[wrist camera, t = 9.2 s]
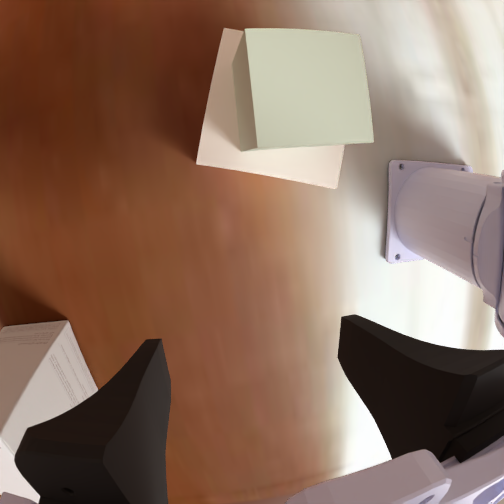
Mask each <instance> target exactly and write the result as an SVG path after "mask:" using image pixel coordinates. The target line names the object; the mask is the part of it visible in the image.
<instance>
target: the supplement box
mask: <svg viewBox="0 0 504 504" xmlns="http://www.w3.org/2000/svg"><path fill="white" fill-rule="evenodd" d="M97 391H98V389H97V387H96V385H95V383H94V380H93V378H92V376H91V374H90V372H89V369H88V367H87V365H86V363H85V360H84V358H83V356H82V353H81V351H80V349H79V346H78V344H77V341H76V339H75V336H74V334H73V331H72V329H71V326H70V323H69V321H68V320H64V321H54V322H44V323H34V324H24V325H13V326H5V327H3V328H2V329H1V331H0V495H2V492H7V493H11V494H14V495H17V496H21V497H24V498H27V499H30V500H32V501H34V502H36V503H37V504H38V503H39V499H40V495H39V494H38V493H37V492H36V491H35V490H34V489H33V488H32V486H31V485H30V484H29V483H28V482H27V481H26V480H25V478H24V477H23V476H22V475H21V473H20V472H19V470H18V469H17V467H16V465H15V462H14V457H15V454H16V451H17V449H18V447H19V445H20V442H21V440H22V438H23V436H24V433H25V431H26V429H27V428H28V427H31V426H34V425H37V424H39V423H42V422H45V421H47V420H50V419H52V418H54V417H56V416H59V415H61V414H63V413H65V412H66V411H68V410H70V409H72V408H74V407H75V406H77V405H78V404H80V403H81V402H83V401H84V400H86V399H87V398H89V397H90V396H92V395H93V394H94V393H96V392H97Z"/></svg>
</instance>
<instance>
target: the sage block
mask: <svg viewBox="0 0 504 504" xmlns="http://www.w3.org/2000/svg"><path fill="white" fill-rule="evenodd" d="M232 70H233V80H234V90H235V99H236V109H237V119H238V129H239V139H240V148H241V152H245V151H255V150H267V149H280V148H295V147H313V146H333V145H346V144H361V143H374V136H373V125H372V115H371V106H370V97H369V89H368V82H367V75H366V68H365V62H364V56H363V50H362V44H361V39H360V35H358V34H351V33H342V32H333V31H322V30H308V29H285V28H248V29H245V30H244V32H243V35H242V37H241V40H240V43H239V45H238V48H237V51H236V54H235V56H234V59H233V62H232Z"/></svg>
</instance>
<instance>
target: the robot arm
mask: <svg viewBox="0 0 504 504" xmlns="http://www.w3.org/2000/svg"><path fill="white" fill-rule="evenodd" d="M400 164H401V166H402V168H401V169H399V165H400ZM461 169H462V171H461ZM397 254H398V256H397V258H395V256H396V255H397ZM385 259H386V261H387V262H389V263H400V262H407V261H414V260H421V259H426V260H428V261H430V262H432V263H434V264H436V265H438V266H440V267H442V268H444V269H446V270H447V271H449V272H451V273H453V274H455V275H457V276H459V277H460V278H462V279H464V280H466V281H468V282H470V283H471V284H473V285H475V286H477V287H479V288H480V289H482V290H483V295H484V299H483V301H484V302H485V303H486V304H488V305H490V306H491V307H493V308H495V309H496V310H495V324H496V327H497V329H498V331H499V332H500V334H501V335H502V336H503V337H504V170H503V171H502V173H501V177H496V176H490V175H484V174H478V173H473V169H472V167H471V166H467V165H458V164H447V163H436V162H423V161H408V160H392V161H390V163H389V194H388V223H387V240H386V254H385ZM338 359H339V362H340V364H341V366H342V369H343V371H344V373H345V375H346V377H347V378H348V380H349V381H350V383H351V384H352V386H353V387H354V389H355V390H356V392H357V393H358V395H359V396H360V398H361V399H362V401H363V402H364V404H365V405H366V407H367V408H368V410H369V411H370V413H371V415H372V416H373V418H374V420H375V422H376V424H377V426H378V428H379V430H380V432H381V434H382V436H383V439H384V441H385V443H386V445H387V448H388V450H389V452H390V455H391V458H392V460H389V461H387V462H384V463H381V464H379V465H376V466H373V467H370V468H367V469H364V470H361V471H358V472H355V473H352V474H348V475H345V476H342V477H338V478H335V479H331V480H328V481H324V482H321V483H319V484H316V485H313V486H310V487H308V488H305V489H303V490H301V491H300V492H298V493H297V494H295V495H293V496H292V497H290V498H289V499H288V500H287V501H286V503H285V504H497V503H498V502H499V501H500V500H502V499H503V498H504V350H466V349H457V348H451V347H445V346H440V345H435V344H431V343H428V342H424V341H421V340H417V339H414V338H412V337H409V336H406V335H403V334H401V333H398V332H396V331H393V330H391V329H389V328H386V327H384V326H382V325H380V324H377V323H375V322H373V321H370V320H368V319H366V318H363V317H361V316H358V315H355V314H354V315H349V316H343V317H341V328H340V339H339V348H338ZM170 403H171V379H170V375H169V371H168V367H167V362H166V358H165V353H164V349H163V344H162V339H148V340H145V342H144V343H143V344H142V345H141V346H140V347H139V349H138V350H137V351H136V352H135V353H134V355H133V356H132V357H131V358H130V359H129V361H128V362H127V363H126V364H125V365H124V366H123V367H122V368H121V369H120V371H119V372H118V373H117V374H116V375H115V376H114V377H113V378H112V379H111V380H110V381H109V382H108V383H106V384H105V385H104V386H103V387H102V388H101V389H99V390H98V391H97V392H96V393H94V394H93V395H92V396H90V397H89V398H87V399H86V400H84V401H83V402H81V403H80V404H78V405H77V406H75V407H74V408H72V409H70V410H68V411H66V412H65V413H63V414H61V415H59V416H56V417H54V418H52V419H50V420H47V421H45V422H42V423H39V424H37V425H34V426H31V427H28V428H27V429H26V431H25V433H24V436H23V438H22V440H21V442H20V445H19V447H18V449H17V451H16V454H15V457H14V462H15V465H16V467H17V469H18V470H19V472H20V473H21V475H22V476H23V477H24V478H25V480H26V481H27V482H28V483H29V484H30V485H31V486H32V488H33V489H34V490H35V491H36V492H37V493H38V494H39V495H40V499H39V503H38V504H168V497H167V483H166V461H165V450H166V438H167V429H168V421H169V412H170ZM0 504H37V503H36V502H34V501H32V500H30V499H27V498H24V497H21V496H17V495H14V494H11V493H7V492H2V495H1V498H0Z"/></svg>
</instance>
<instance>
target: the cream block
mask: <svg viewBox="0 0 504 504" xmlns="http://www.w3.org/2000/svg"><path fill="white" fill-rule="evenodd" d="M243 32H244V31H240V30H234V29H228V28H224V30H223V34H222V38H221V42H220V46H219V51H218V55H217V59H216V64H215V68H214V73H213V78H212V82H211V87H210V92H209V97H208V102H207V107H206V112H205V117H204V122H203V127H202V133H201V138H200V144H199V150H198V155H197V161H196V164H198V165H205V166H212V167H219V168H225V169H231V170H238V171H244V172H250V173H255V174H261V175H267V176H272V177H277V178H283V179H288V180H293V181H298V182H303V183H308V184H313V185H318V186H322V187H327V188H332V189H336V190H337V185H338V180H339V175H340V169H341V164H342V159H343V153H344V148H345V145H333V146H313V147H295V148H280V149H267V150H255V151H245V152H241V148H240V139H239V129H238V119H237V109H236V99H235V90H234V80H233V70H232V62H233V59H234V56H235V54H236V51H237V48H238V45H239V43H240V40H241V37H242V35H243Z"/></svg>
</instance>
